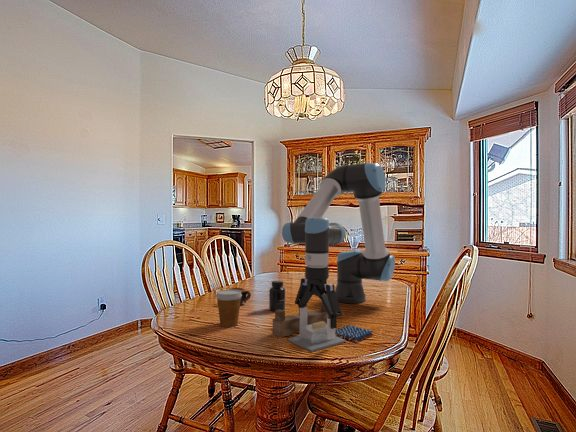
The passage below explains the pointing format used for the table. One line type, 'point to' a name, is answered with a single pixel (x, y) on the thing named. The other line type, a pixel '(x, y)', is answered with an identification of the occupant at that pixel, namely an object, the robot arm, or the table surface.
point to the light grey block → (314, 333)
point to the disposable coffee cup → (228, 307)
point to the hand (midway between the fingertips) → (316, 332)
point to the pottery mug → (243, 295)
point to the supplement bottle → (277, 296)
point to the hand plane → (296, 321)
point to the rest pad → (318, 345)
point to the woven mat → (353, 333)
